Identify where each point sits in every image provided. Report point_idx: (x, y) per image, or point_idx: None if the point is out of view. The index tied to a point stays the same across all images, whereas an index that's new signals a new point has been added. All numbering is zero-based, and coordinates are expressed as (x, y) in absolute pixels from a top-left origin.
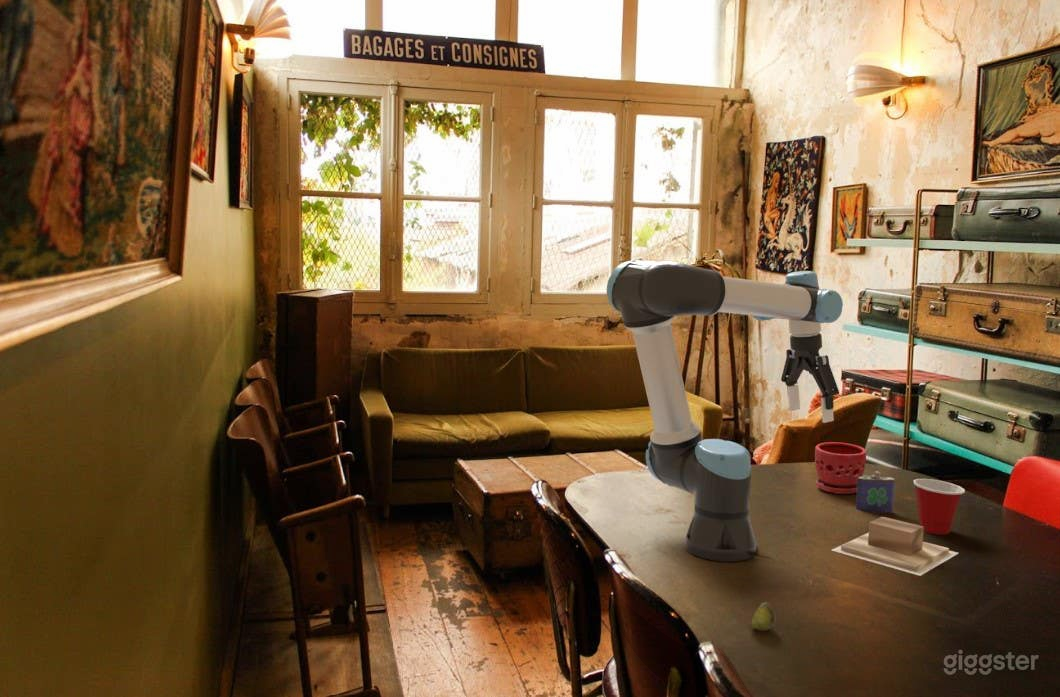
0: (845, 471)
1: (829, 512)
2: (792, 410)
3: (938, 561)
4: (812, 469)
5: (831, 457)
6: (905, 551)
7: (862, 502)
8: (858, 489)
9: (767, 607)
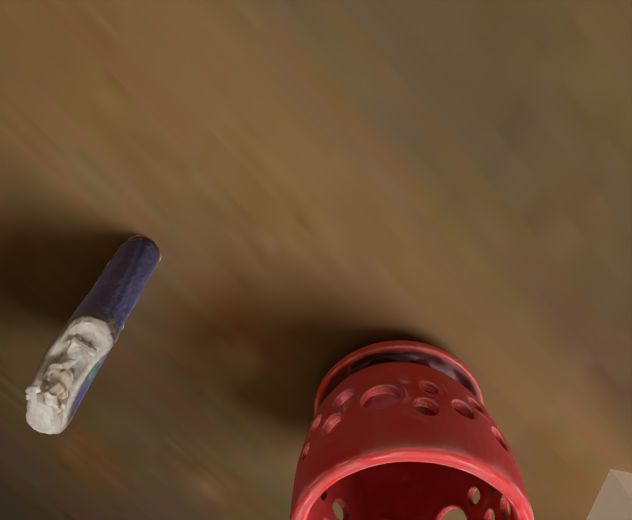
0: (420, 487)
1: (192, 144)
2: (604, 490)
3: None
4: None
5: (373, 437)
6: None
7: (111, 263)
8: (110, 285)
9: None
